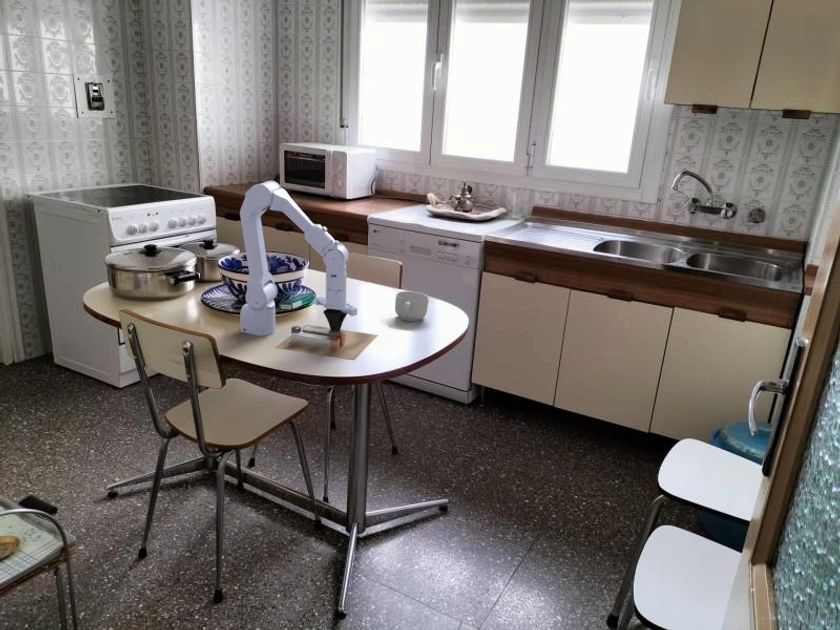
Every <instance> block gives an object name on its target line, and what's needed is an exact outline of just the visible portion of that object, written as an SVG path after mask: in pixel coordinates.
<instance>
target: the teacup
mask: <svg viewBox="0 0 840 630" xmlns="http://www.w3.org/2000/svg"><path fill="white" fill-rule="evenodd" d="M429 301H430V297H429V296H428V294H425V293H423V292H420V291H419V292H418V291H412V290H407V291H406V290H405V291H398V292H396V293H395V302H394V304H395V305H394V311H395V313H396V315H397V316H398V317H399V318H400V320H403V321H407V322H419V321H420V320H423V318H425V317H426V316H427V312H428V307H429Z"/></svg>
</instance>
